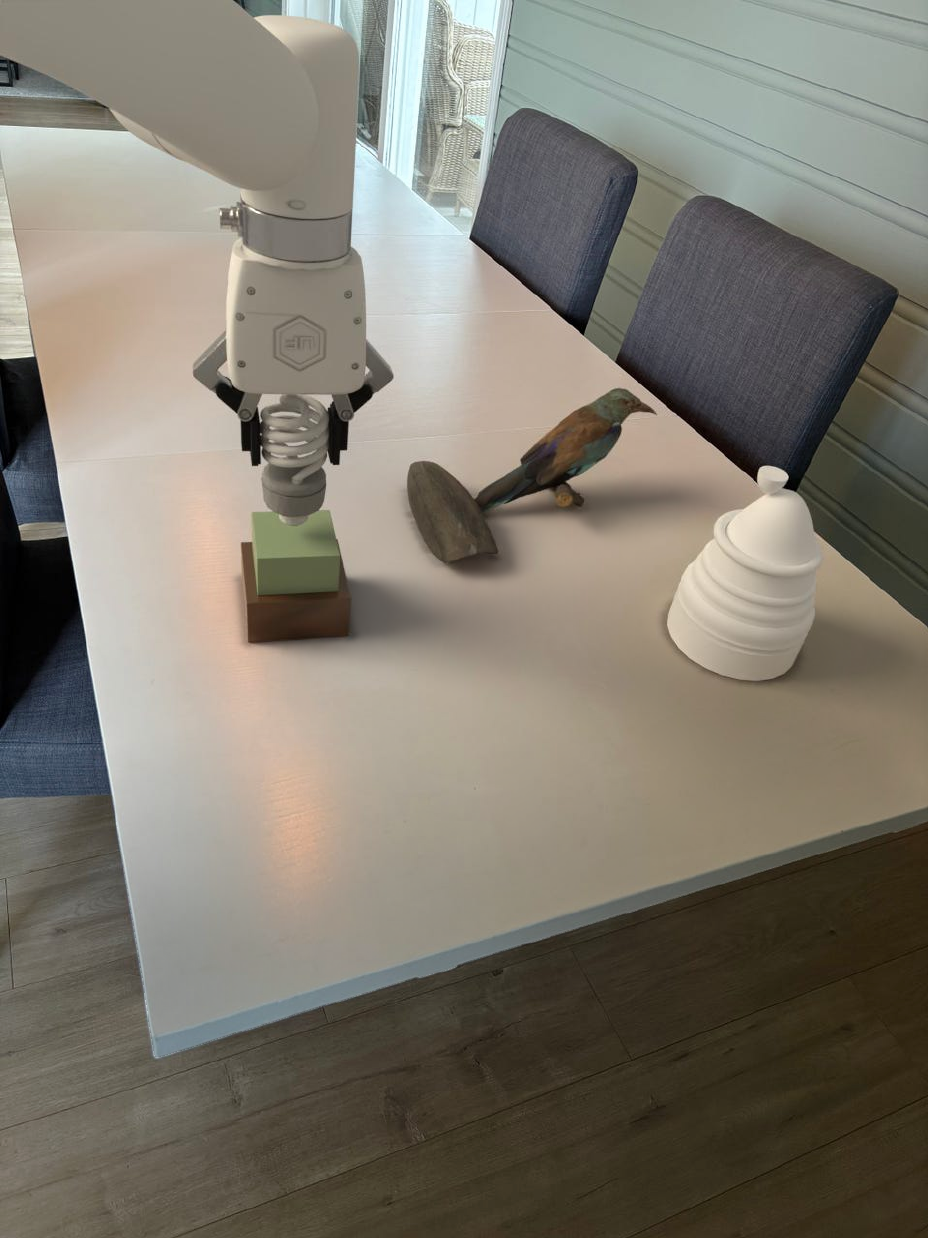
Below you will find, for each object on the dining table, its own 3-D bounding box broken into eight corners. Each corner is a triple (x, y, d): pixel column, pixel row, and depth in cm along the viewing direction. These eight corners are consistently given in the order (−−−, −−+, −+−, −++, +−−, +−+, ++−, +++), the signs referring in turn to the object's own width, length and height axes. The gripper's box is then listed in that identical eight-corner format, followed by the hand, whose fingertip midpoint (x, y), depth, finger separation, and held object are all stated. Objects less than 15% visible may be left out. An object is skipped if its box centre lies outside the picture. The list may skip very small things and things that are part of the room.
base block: (247, 642, 81) (246, 603, 78) (242, 579, 87) (240, 541, 84) (349, 636, 83) (351, 598, 80) (335, 575, 90) (337, 538, 87)
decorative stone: (501, 571, 94) (508, 538, 91) (443, 579, 92) (448, 545, 89) (444, 482, 106) (448, 451, 103) (391, 487, 103) (394, 455, 101)
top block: (257, 595, 79) (256, 558, 76) (252, 547, 84) (251, 511, 81) (338, 591, 81) (340, 555, 78) (328, 544, 86) (329, 509, 83)
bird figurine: (492, 538, 96) (607, 377, 90) (450, 491, 103) (554, 337, 97) (569, 570, 106) (678, 426, 100) (526, 525, 112) (625, 387, 106)
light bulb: (253, 510, 80) (250, 384, 72) (315, 503, 82) (319, 379, 74) (269, 548, 76) (268, 418, 69) (334, 539, 78) (340, 412, 71)
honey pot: (655, 653, 87) (712, 493, 75) (678, 580, 96) (732, 428, 85) (790, 698, 84) (870, 539, 73) (800, 618, 94) (872, 467, 82)
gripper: (167, 242, 58) (185, 483, 70) (428, 255, 63) (405, 480, 74) (167, 205, 64) (184, 434, 75) (407, 219, 68) (389, 434, 80)
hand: (294, 455), depth 75 cm, fingers closed on light bulb, 5 cm apart
